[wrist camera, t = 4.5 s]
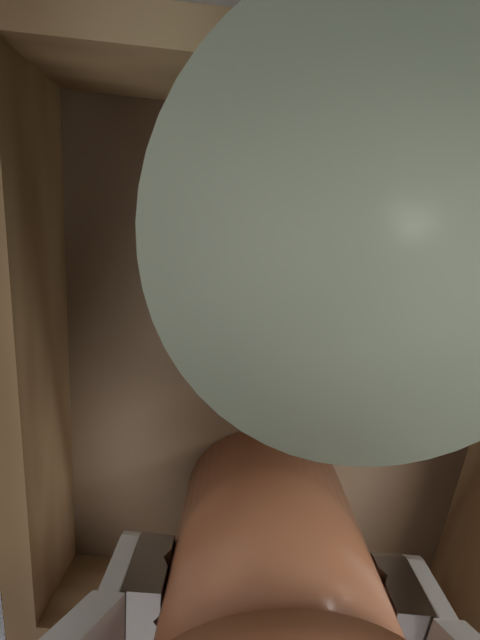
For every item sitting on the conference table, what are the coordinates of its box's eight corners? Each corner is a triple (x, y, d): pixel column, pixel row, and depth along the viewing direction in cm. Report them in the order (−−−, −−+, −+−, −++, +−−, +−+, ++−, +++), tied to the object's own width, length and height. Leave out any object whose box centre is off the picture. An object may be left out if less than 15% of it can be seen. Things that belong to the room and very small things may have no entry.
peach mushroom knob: (365, 426, 11) (576, 735, 4) (334, 569, 12) (449, 971, 5) (181, 409, 11) (77, 699, 4) (172, 556, 12) (86, 950, 5)
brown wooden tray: (587, 116, 9) (752, 54, 6) (435, 588, 13) (490, 684, 10) (35, 54, 9) (-68, -41, 6) (59, 557, 13) (6, 647, 10)
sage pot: (413, 151, 9) (758, -35, 3) (372, 346, 10) (552, 484, 4) (209, 129, 9) (141, -111, 3) (195, 329, 10) (131, 447, 4)
